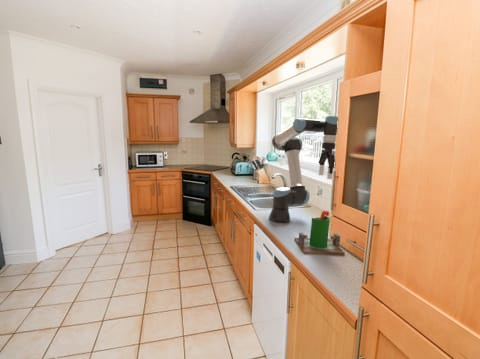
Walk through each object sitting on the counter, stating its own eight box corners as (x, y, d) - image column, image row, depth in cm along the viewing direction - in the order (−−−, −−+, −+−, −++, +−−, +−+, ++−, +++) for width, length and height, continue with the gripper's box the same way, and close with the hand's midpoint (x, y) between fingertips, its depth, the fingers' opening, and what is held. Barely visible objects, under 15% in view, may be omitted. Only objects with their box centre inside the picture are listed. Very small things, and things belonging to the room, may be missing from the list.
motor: (314, 239, 151) (318, 206, 148) (329, 244, 146) (334, 210, 142) (307, 244, 143) (311, 209, 140) (322, 249, 138) (327, 213, 134)
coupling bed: (294, 240, 153) (295, 227, 152) (330, 241, 155) (332, 229, 153) (303, 253, 135) (305, 240, 134) (344, 255, 137) (346, 241, 136)
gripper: (315, 141, 168) (312, 173, 172) (331, 142, 144) (327, 180, 147) (327, 142, 169) (323, 174, 172) (344, 143, 144) (339, 180, 148)
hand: (325, 177), depth 160 cm, fingers open, 13 cm apart
